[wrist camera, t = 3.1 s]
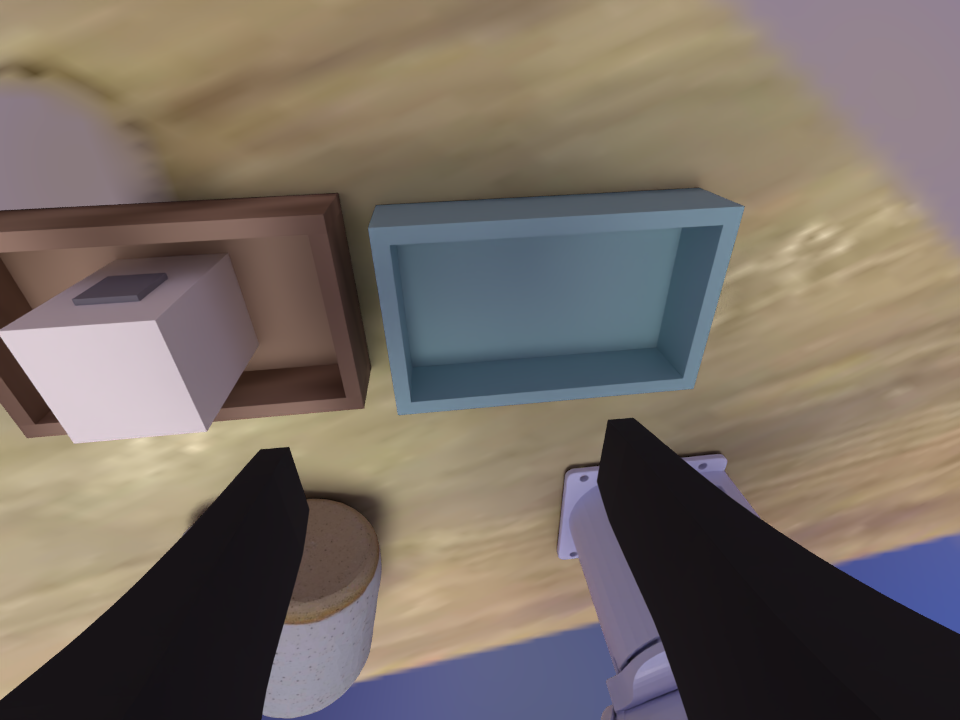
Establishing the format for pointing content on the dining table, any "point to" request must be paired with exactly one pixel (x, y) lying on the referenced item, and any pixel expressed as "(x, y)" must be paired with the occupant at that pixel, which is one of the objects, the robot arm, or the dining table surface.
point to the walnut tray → (259, 271)
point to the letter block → (138, 347)
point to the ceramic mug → (326, 613)
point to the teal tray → (549, 295)
